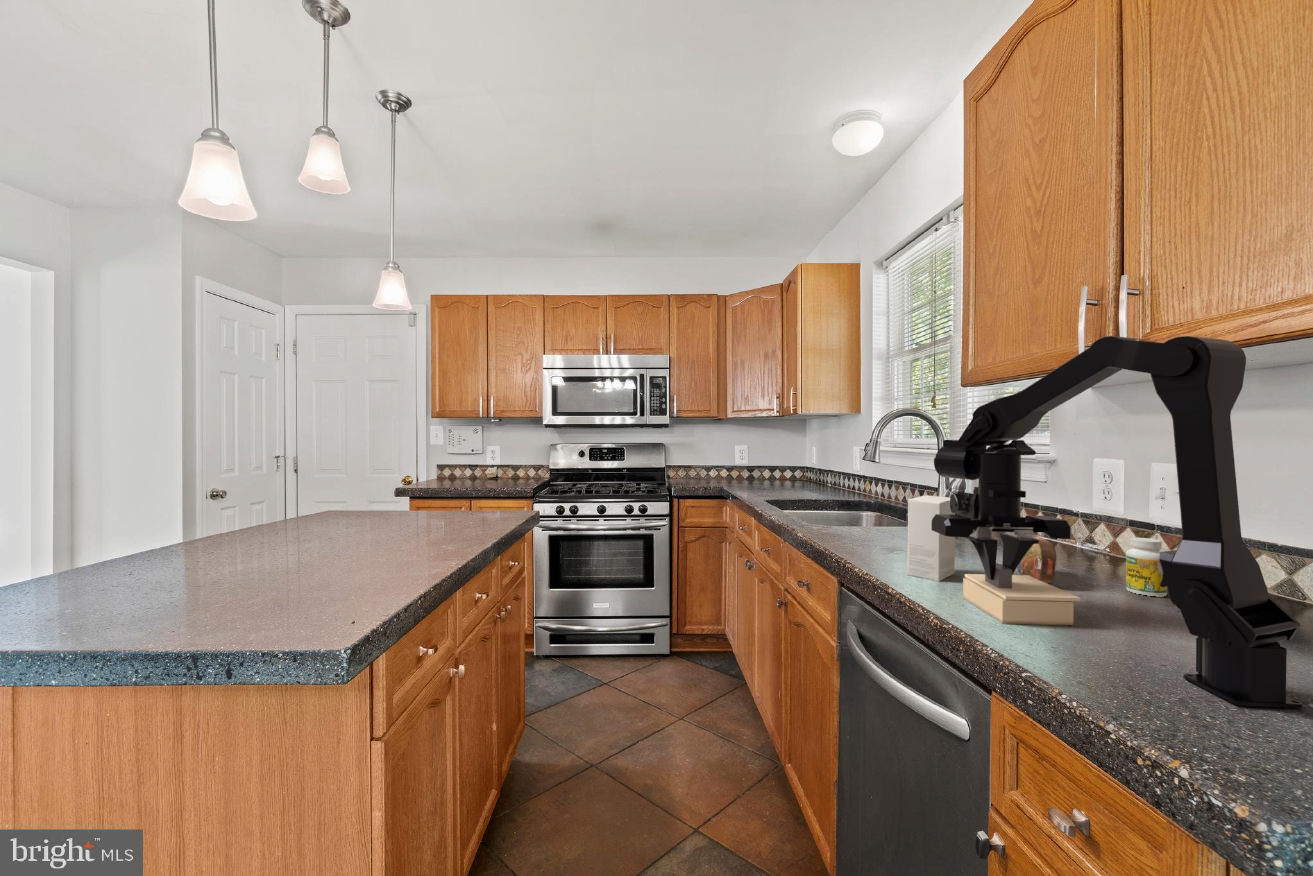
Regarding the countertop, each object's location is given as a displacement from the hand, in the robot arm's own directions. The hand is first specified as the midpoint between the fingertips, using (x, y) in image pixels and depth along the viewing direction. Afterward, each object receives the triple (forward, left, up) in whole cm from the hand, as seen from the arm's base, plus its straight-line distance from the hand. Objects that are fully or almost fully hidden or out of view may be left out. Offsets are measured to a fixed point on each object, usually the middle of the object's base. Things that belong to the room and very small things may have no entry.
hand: (998, 579), depth 85 cm
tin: (+20, -17, -5) cm, 27 cm away
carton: (0, -2, -5) cm, 6 cm away
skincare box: (+21, +2, -5) cm, 22 cm away
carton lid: (0, -3, -1) cm, 3 cm away
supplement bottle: (+12, -31, -5) cm, 34 cm away
